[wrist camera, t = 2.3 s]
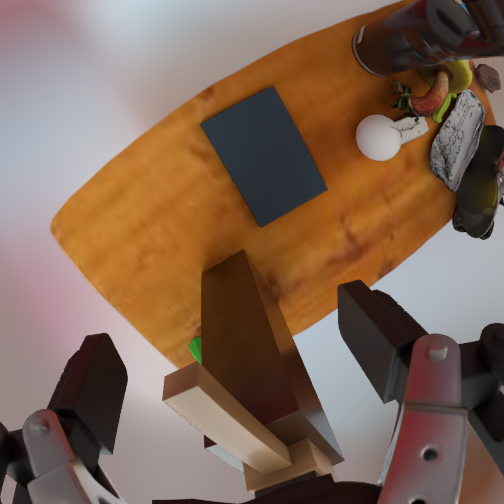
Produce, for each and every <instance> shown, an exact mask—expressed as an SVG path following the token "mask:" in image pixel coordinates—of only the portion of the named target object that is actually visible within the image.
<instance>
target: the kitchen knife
mask: <svg viewBox="0 0 504 504" xmlns="http://www.w3.org/2000/svg"><path fill="white" fill-rule="evenodd" d="M466 61H467V62H469V59H468V60H466ZM451 97H453V98H456V97H457V95H456V93H455V94H449V93H447V95H446V98H445V100H444V102H443V103H442V104H441V106H440V107H439V108H438V109H436V110H435V112H434V113H433V120H434V121H436V122H441V121H442V118H441V117H442V115H443V113H444V112H445V111H446V110H447V108H448V106H449V104H450V101H451Z"/></svg>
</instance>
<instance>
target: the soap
mask: <svg viewBox="0 0 504 504" xmlns="http://www.w3.org/2000/svg"><path fill="white" fill-rule="evenodd" d="M414 119H415V117H414V118H410V117H404V118H402V119H399V120H398V121H396V122H394V123H395V124H396V125H397V127H398V128H399V131H400V132H401V134H402V138H401V145H402V144H405V143H407V142H409V141H412V140H414V139H416V138H418V137H420V136H422V135H423V134H425V132H426V131H428V130H429V128H428V126H427V122H426V120H425V117H419V120H418V123H416V122H415V121H414ZM426 133H427V132H426Z"/></svg>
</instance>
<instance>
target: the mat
mask: <svg viewBox="0 0 504 504" xmlns="http://www.w3.org/2000/svg"><path fill="white" fill-rule="evenodd" d="M200 125H201V127H202V129H203V130H204V132H205V134H206V135H207V137H208V139H209V140H210V142H211V144H212V145H213V147H214V149H215V150H216V152H217V154H218V155H219V157H220V159H221V160H222V162H223V164H224V165H225V167H226V169H227V171H228V172H229V174H230V176H231V177H232V179H233V181H234V182H235V184H236V186H237V187H238V189H239V191H240V193H241V194H242V196H243V198H244V199H245V201H246V203H247V205H248V206H249V208H250V210H251V211H252V213H253V215H254V217H255V218H256V220H257V222H258V223H259V225H260V227H263V226H265V225H267V224H268V223H270V222H272V221H274V220H275V219H277V218H279V217H281V216H282V215H284V214H286V213H288V212H289V211H291V210H293V209H294V208H296V207H298V206H300V205H301V204H303V203H305V202H307V201H309V200H310V199H312V198H314V197H316V196H317V195H319V194H321V193H323V192H324V191H326V190H327V187H326V185H325V183H324V181H323V179H322V177H321V175H320V173H319V171H318V169H317V167H316V165H315V163H314V161H313V159H312V157H311V155H310V153H309V151H308V149H307V147H306V145H305V143H304V141H303V139H302V137H301V135H300V133H299V131H298V129H297V128H296V126H295V124H294V122H293V120H292V118H291V116H290V115H289V113H288V111H287V109H286V107H285V106H284V104H283V102H282V100H281V99H280V97H279V95H278V93H277V92H276V90H275V88H274V86H272V87H270V88H268V89H266V90H264V91H262V92H260V93H258V94H255V95H253V96H251V97H250V98H248V99H246V100H244V101H242V102H240V103H238V104H236V105H234V106H232V107H230V108H228V109H227V110H225V111H223V112H221V113H219V114H217V115H216V116H214V117H212V118H210V119H209V120H207V121H205V122H203V123H202V124H200Z"/></svg>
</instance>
